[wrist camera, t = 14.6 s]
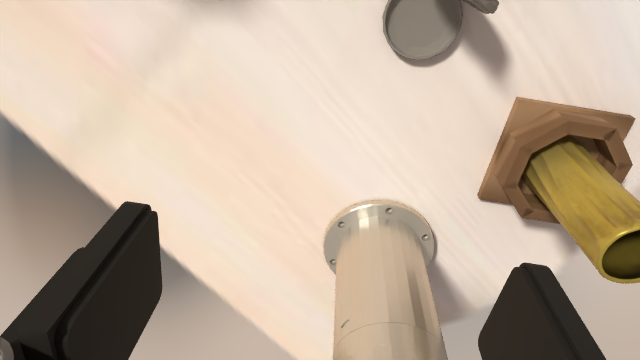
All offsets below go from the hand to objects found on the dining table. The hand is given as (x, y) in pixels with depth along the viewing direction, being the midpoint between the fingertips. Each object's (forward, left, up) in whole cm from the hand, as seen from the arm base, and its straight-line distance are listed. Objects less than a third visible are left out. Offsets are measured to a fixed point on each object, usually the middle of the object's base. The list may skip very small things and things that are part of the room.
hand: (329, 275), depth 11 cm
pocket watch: (+4, -7, -31) cm, 32 cm away
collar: (-8, -23, -30) cm, 39 cm away
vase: (-8, -22, -30) cm, 38 cm away
